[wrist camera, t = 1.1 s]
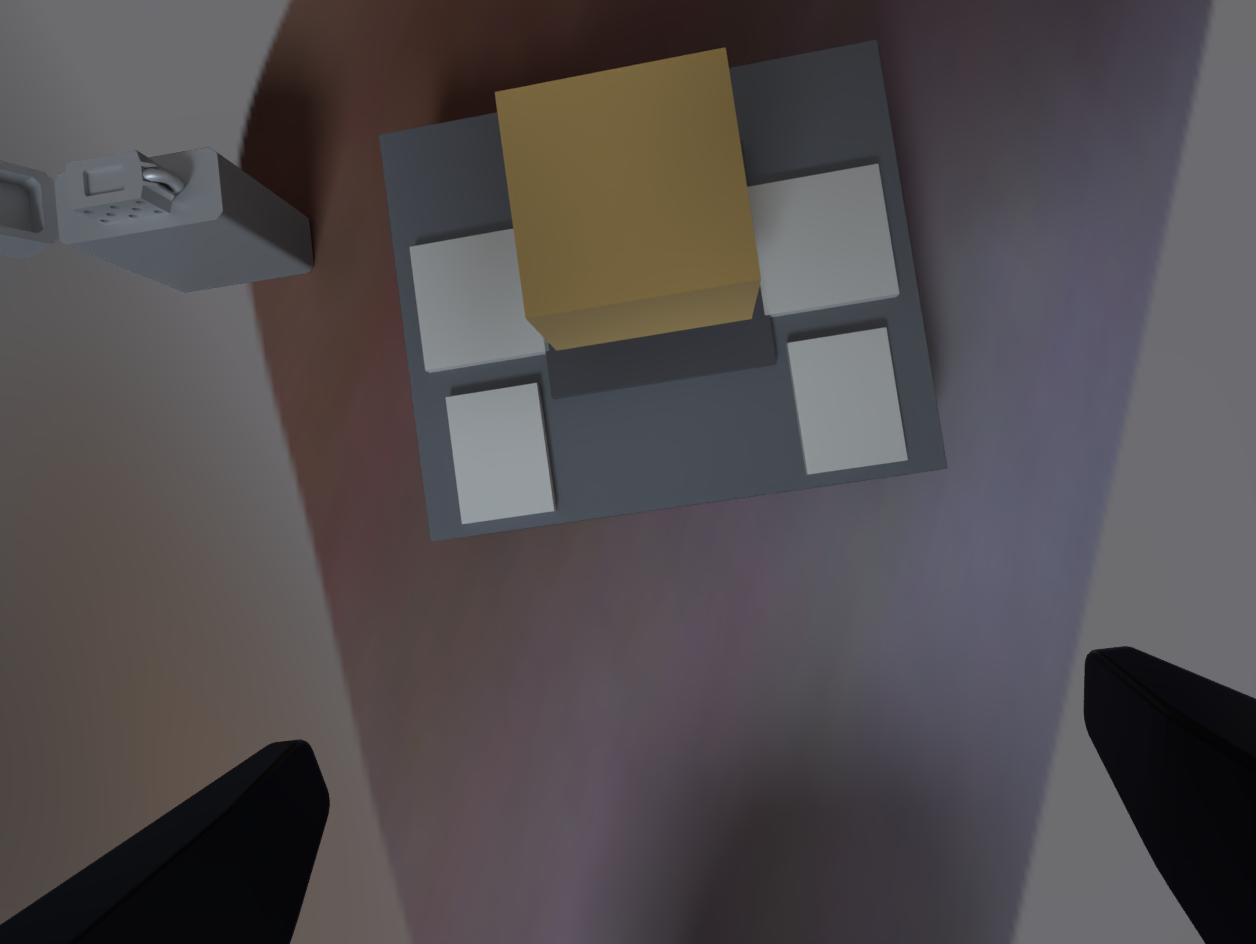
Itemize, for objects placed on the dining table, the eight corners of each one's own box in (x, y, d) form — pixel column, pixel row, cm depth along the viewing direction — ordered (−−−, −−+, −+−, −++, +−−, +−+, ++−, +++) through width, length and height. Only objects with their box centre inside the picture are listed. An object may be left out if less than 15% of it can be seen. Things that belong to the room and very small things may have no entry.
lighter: (308, 212, 23) (92, 55, 15) (314, 271, 23) (101, 146, 15) (79, 250, 23) (-246, 120, 15) (84, 308, 23) (-240, 207, 15)
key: (751, 319, 16) (761, 279, 13) (556, 350, 16) (525, 318, 13) (721, 126, 16) (725, 47, 13) (530, 162, 16) (494, 91, 14)
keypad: (912, 473, 21) (951, 467, 17) (468, 536, 22) (426, 542, 18) (852, 104, 21) (879, 31, 18) (422, 184, 22) (373, 129, 19)
